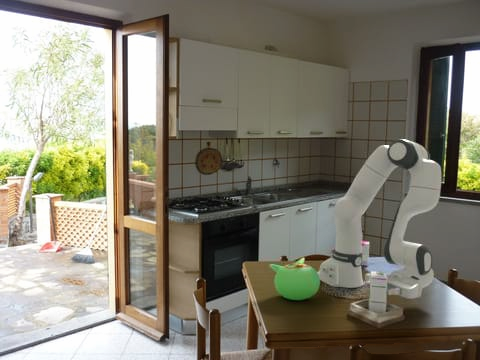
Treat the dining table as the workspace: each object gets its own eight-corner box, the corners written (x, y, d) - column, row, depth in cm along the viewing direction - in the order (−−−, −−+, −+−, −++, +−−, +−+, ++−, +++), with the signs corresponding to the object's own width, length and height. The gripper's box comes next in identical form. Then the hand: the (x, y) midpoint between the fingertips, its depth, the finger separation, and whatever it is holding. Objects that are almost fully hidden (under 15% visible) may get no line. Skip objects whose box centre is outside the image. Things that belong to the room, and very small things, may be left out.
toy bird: (285, 308, 171) (286, 270, 170) (265, 292, 187) (267, 257, 185) (326, 303, 178) (328, 266, 176) (304, 288, 193) (306, 254, 192)
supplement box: (368, 263, 232) (369, 241, 231) (367, 266, 227) (369, 244, 225) (356, 262, 234) (358, 240, 233) (355, 265, 228) (357, 242, 227)
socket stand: (347, 313, 168) (348, 303, 167) (372, 306, 176) (373, 296, 175) (378, 328, 156) (379, 317, 156) (404, 319, 164) (405, 308, 164)
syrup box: (385, 316, 162) (388, 277, 161) (368, 314, 164) (371, 275, 162) (384, 310, 168) (386, 272, 166) (367, 308, 169) (370, 270, 168)
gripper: (378, 266, 181) (355, 271, 173) (426, 281, 164) (402, 288, 156) (378, 282, 181) (354, 288, 173) (424, 298, 165) (400, 306, 157)
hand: (377, 288), depth 165 cm, fingers closed on syrup box, 8 cm apart
